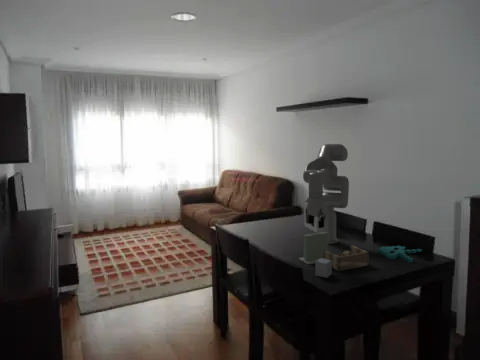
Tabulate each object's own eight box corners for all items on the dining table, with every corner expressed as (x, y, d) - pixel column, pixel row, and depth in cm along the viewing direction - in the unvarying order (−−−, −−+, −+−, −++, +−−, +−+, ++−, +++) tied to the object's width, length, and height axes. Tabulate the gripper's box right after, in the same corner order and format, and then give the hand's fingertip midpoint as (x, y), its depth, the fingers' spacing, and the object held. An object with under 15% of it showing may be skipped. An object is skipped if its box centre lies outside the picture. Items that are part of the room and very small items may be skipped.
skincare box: (331, 274, 183) (331, 259, 182) (326, 278, 178) (326, 263, 177) (320, 271, 187) (320, 257, 186) (315, 275, 182) (315, 261, 181)
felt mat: (298, 258, 206) (298, 258, 206) (322, 254, 212) (322, 253, 212) (308, 264, 197) (308, 263, 197) (333, 259, 203) (333, 259, 203)
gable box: (304, 225, 277) (303, 188, 274) (320, 224, 280) (320, 187, 277) (316, 233, 256) (316, 193, 252) (334, 231, 259) (334, 192, 255)
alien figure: (421, 253, 211) (385, 247, 223) (421, 249, 210) (386, 243, 223) (411, 263, 195) (374, 256, 208) (412, 259, 195) (374, 252, 208)
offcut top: (349, 254, 199) (349, 251, 199) (347, 258, 194) (347, 254, 194) (344, 254, 200) (344, 250, 200) (342, 257, 195) (342, 253, 195)
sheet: (303, 259, 203) (303, 235, 201) (325, 256, 208) (325, 231, 206) (306, 261, 201) (305, 236, 199) (327, 257, 206) (327, 232, 204)
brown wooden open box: (323, 262, 199) (323, 250, 198) (352, 257, 206) (352, 245, 205) (338, 271, 187) (338, 257, 186) (368, 265, 194) (368, 252, 193)
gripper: (301, 193, 207) (301, 222, 209) (319, 198, 191) (319, 230, 193) (312, 191, 209) (313, 220, 212) (331, 196, 193) (331, 228, 196)
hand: (316, 225), depth 203 cm, fingers open, 9 cm apart
